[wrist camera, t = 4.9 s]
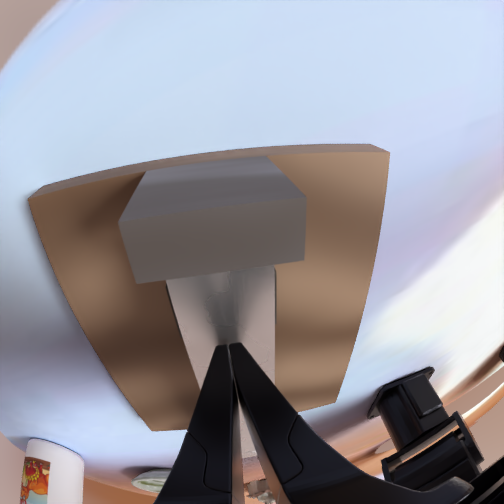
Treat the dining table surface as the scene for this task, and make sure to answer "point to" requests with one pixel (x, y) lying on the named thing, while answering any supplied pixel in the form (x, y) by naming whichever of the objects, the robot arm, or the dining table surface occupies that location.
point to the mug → (502, 354)
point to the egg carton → (260, 491)
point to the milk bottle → (51, 474)
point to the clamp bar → (228, 321)
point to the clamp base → (298, 283)
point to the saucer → (151, 480)
